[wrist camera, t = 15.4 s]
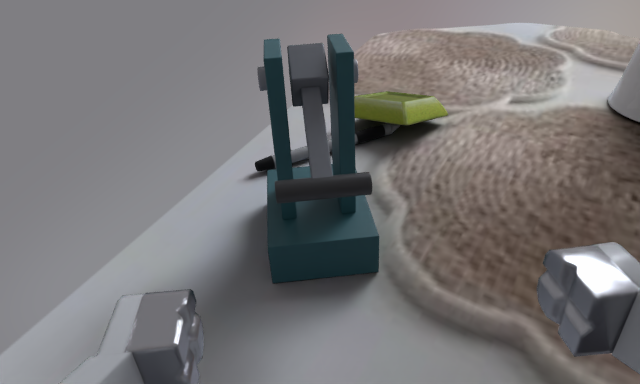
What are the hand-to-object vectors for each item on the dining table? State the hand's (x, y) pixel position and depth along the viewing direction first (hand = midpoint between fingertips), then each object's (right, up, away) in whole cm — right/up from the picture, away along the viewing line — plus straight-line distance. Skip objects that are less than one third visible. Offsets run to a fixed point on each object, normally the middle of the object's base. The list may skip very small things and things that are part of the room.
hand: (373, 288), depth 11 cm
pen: (-7, +5, +35) cm, 36 cm away
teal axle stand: (-1, -1, +24) cm, 24 cm away
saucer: (+7, +13, +38) cm, 41 cm away
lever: (-2, +6, +17) cm, 18 cm away
